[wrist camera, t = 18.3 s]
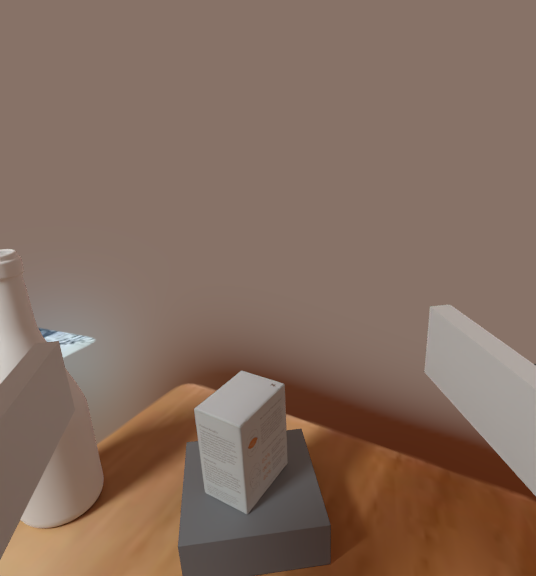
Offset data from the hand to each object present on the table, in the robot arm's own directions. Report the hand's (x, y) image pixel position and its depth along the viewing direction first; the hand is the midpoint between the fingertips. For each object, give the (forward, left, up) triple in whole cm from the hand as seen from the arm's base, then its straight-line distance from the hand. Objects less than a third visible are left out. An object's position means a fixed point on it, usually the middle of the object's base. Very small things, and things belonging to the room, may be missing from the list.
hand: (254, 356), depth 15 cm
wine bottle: (-22, +29, -32) cm, 48 cm away
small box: (0, +23, -27) cm, 35 cm away
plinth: (0, +23, -32) cm, 39 cm away
